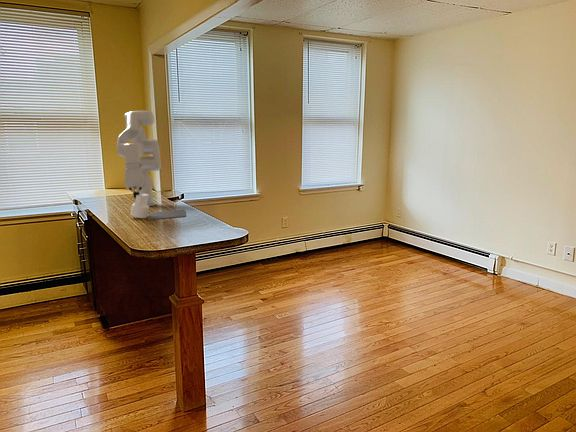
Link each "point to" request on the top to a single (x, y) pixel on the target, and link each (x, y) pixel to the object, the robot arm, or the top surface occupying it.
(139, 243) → the top surface
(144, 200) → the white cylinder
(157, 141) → the robot arm
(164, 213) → the mat
